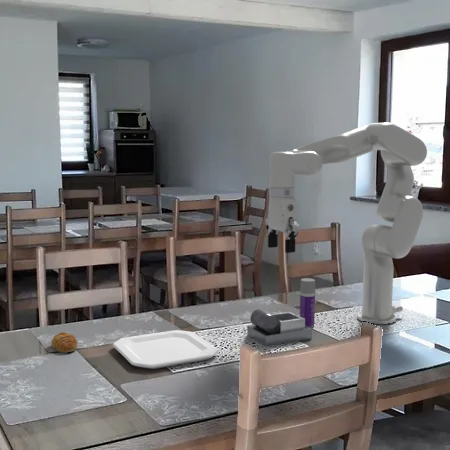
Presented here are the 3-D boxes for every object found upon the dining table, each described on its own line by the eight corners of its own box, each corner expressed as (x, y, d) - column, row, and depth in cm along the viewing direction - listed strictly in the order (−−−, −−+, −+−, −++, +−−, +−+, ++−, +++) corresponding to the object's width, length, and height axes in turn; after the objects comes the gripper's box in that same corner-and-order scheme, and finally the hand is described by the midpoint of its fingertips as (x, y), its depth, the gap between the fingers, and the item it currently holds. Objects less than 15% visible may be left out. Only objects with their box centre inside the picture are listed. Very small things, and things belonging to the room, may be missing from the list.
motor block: (291, 328, 193) (292, 303, 192) (311, 338, 184) (312, 312, 183) (247, 335, 186) (247, 309, 185) (265, 346, 177) (266, 319, 176)
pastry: (82, 351, 172) (82, 338, 171) (58, 356, 168) (58, 342, 168) (72, 342, 179) (71, 329, 179) (49, 346, 176) (48, 333, 175)
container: (313, 328, 194) (315, 281, 192) (298, 327, 195) (299, 281, 193) (314, 324, 198) (315, 278, 196) (300, 323, 199) (301, 277, 197)
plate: (137, 376, 154) (137, 367, 154) (108, 347, 176) (108, 339, 176) (224, 360, 166) (224, 352, 165) (187, 335, 187) (187, 328, 187)
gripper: (308, 195, 178) (308, 253, 180) (277, 190, 193) (276, 244, 195) (287, 196, 174) (286, 255, 177) (256, 191, 189) (256, 246, 192)
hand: (281, 249), depth 186 cm, fingers open, 9 cm apart
